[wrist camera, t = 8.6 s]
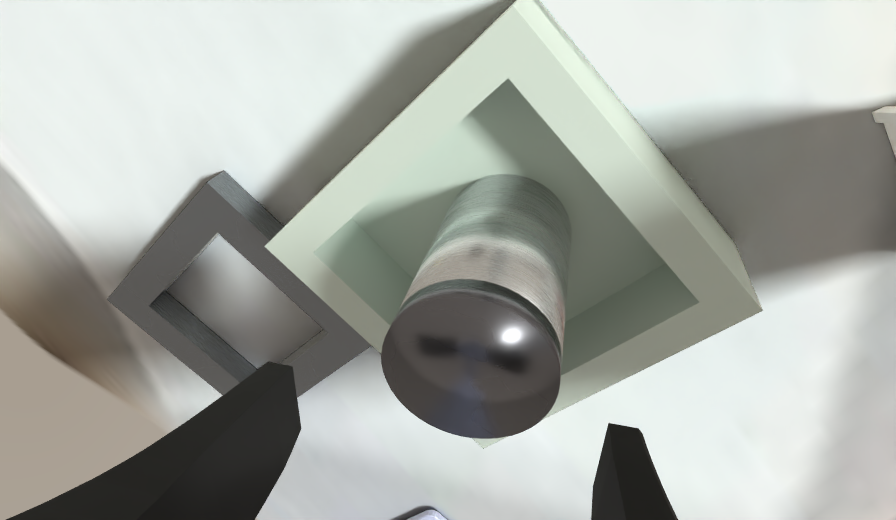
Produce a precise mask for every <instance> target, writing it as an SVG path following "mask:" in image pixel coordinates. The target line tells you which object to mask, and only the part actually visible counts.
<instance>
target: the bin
mask: <svg viewBox="0 0 896 520" xmlns="http://www.w3.org/2000/svg"><path fill="white" fill-rule="evenodd" d="M497 174H513V175H519V176H524V177H527V178H530V179H532V180H535V181H537V182H539V183H541V184H542V185H544V186H545V187H547V188H548V189H549V190H550V191H552V192H553V193H554V194H555V195H556V196H557V197H558V199H559V200H560V201H561V203H562V204H563V206H564V207H565V209H566V211H567V213H568V216H569V219H570V223H571V250H570V263H569V276H568V289H567V301H566V314H565V327H564V340H563V353H562V366H561V379H560V388H559V393H558V396H557V399H556V402H555V404H554V405H553V407H552V409H551V410H550V411H549V413H548V414H547V415H546V416H545V417H544V418H543V419H545V418H547V417H549V416H551V415H553V414H555V413H557V412H559V411H561V410H563V409H565V408H567V407H569V406H571V405H573V404H575V403H577V402H579V401H581V400H583V399H585V398H587V397H589V396H591V395H593V394H595V393H597V392H599V391H601V390H603V389H605V388H607V387H609V386H611V385H613V384H615V383H617V382H619V381H621V380H623V379H625V378H627V377H630V376H632V375H634V374H636V373H638V372H640V371H642V370H644V369H646V368H648V367H650V366H652V365H654V364H656V363H658V362H660V361H662V360H664V359H666V358H668V357H670V356H672V355H674V354H676V353H678V352H680V351H682V350H684V349H686V348H688V347H690V346H692V345H694V344H696V343H698V342H700V341H702V340H704V339H706V338H708V337H710V336H712V335H714V334H716V333H719V332H721V331H723V330H725V329H727V328H729V327H731V326H733V325H735V324H737V323H739V322H741V321H743V320H745V319H747V318H749V317H751V316H753V315H755V314H757V313H759V312H761V311H763V310H762V307H761V305H760V303H759V300H758V298H757V295H756V293H755V291H754V288H753V286H752V283H751V281H750V279H749V276H748V274H747V271H746V269H745V267H744V264H743V262H742V260H741V257H740V255H739V252H738V250H737V248H736V245H735V243H734V242H733V241H732V239H731V238H730V237H729V236H728V234H727V233H726V232H725V231H724V229H723V228H722V227H721V226H720V224H719V223H718V222H717V221H716V219H715V218H714V217H713V216H712V214H711V213H710V212H709V211H708V209H707V208H706V207H705V206H704V204H703V203H702V202H701V201H700V199H699V198H698V197H697V196H696V194H695V193H694V192H693V191H692V189H691V188H690V187H689V186H688V184H687V183H686V182H685V181H684V180H683V178H682V177H681V176H680V175H679V173H678V172H677V171H676V170H675V168H674V167H673V166H672V165H671V163H670V162H669V161H668V160H667V158H666V157H665V156H664V155H663V153H662V152H661V151H660V150H659V148H658V147H657V146H656V145H655V143H654V142H653V141H652V140H651V138H650V137H649V136H648V135H647V133H646V132H645V131H644V130H643V128H642V127H641V126H640V125H639V123H638V122H637V121H636V120H635V118H634V117H633V116H632V115H631V114H630V112H629V111H628V110H627V109H626V107H625V106H624V105H623V104H622V102H621V101H620V100H619V99H618V97H617V96H616V95H615V94H614V92H613V91H612V90H611V89H610V87H609V86H608V85H607V84H606V82H605V81H604V80H603V79H602V77H601V76H600V75H599V74H598V72H597V71H596V70H595V69H594V67H593V66H592V65H591V64H590V62H589V61H588V60H587V59H586V57H585V56H584V55H583V54H582V53H581V51H580V50H579V49H578V48H577V46H576V45H575V44H574V43H573V41H572V40H571V39H570V38H569V36H568V35H567V34H566V33H565V31H564V30H563V29H562V28H561V26H560V25H559V24H558V23H557V21H556V20H555V19H554V18H553V16H552V15H551V14H550V13H549V11H548V10H547V9H546V8H545V6H544V5H543V4H542V3H541V1H540V0H516V1H515V2H514V3H513V4H512V5H511V6H510V7H509V8H508V9H507V10H506V11H505V12H503V13H502V14H501V15H500V16H499V17H498V18H497V19H496V20H495V21H494V22H493V23H492V24H491V25H490V26H489V27H488V28H487V29H486V30H485V31H484V32H483V33H482V34H481V35H480V36H479V37H478V38H477V39H476V40H475V41H474V42H473V43H472V44H471V45H470V46H468V47H467V48H466V49H465V50H464V51H463V52H462V53H461V54H460V55H459V56H458V57H457V58H456V59H455V60H454V61H453V62H452V63H451V64H450V65H449V66H448V67H447V68H446V69H445V70H444V71H443V72H442V73H441V74H440V75H439V76H438V77H437V78H436V79H435V80H434V81H432V82H431V83H430V84H429V85H428V86H427V87H426V88H425V89H424V90H423V91H422V92H421V93H420V94H419V95H418V96H417V97H416V98H415V99H414V100H413V101H412V102H411V103H410V104H409V105H408V106H407V107H406V108H405V109H404V110H403V111H402V112H401V113H400V114H399V115H397V116H396V117H395V118H394V119H393V120H392V121H391V122H390V123H389V124H388V125H387V126H386V127H385V128H384V129H383V130H382V131H381V132H380V133H379V134H378V135H377V136H376V137H375V138H374V139H373V140H372V141H371V142H370V143H369V144H368V145H367V146H366V147H365V148H364V149H363V150H361V151H360V152H359V153H358V154H357V155H356V156H355V157H354V158H353V159H352V160H351V161H350V162H349V163H348V164H347V165H346V166H345V167H344V168H343V169H342V170H341V171H340V172H339V173H338V174H337V175H336V176H335V177H334V178H333V179H332V180H331V181H330V182H329V183H328V184H326V185H325V186H324V187H323V188H322V189H321V190H320V191H319V192H318V193H317V194H316V195H315V196H314V197H313V198H312V199H311V200H310V201H309V202H308V203H307V204H306V205H305V206H304V207H303V208H302V209H301V210H300V211H299V212H298V213H297V214H296V215H295V216H294V217H293V218H292V219H291V220H290V221H289V222H288V223H287V224H286V225H285V226H284V227H283V228H282V229H281V230H280V231H279V232H278V233H277V234H276V235H275V236H274V237H273V238H272V239H271V240H270V241H269V242H268V243H267V244H266V245H265V247H266V248H267V249H268V250H269V251H270V252H271V253H272V254H273V255H274V256H275V257H276V258H277V259H279V260H280V261H281V262H282V263H283V264H284V265H285V266H286V267H287V268H288V269H289V270H290V271H292V272H293V273H294V274H295V275H296V276H297V277H298V278H299V279H300V280H301V281H302V282H303V283H305V284H306V285H307V286H308V287H309V288H310V289H311V290H312V291H313V292H314V293H315V294H316V295H317V296H319V297H320V298H321V299H322V300H323V301H324V302H325V303H326V304H327V305H328V306H329V307H330V308H332V309H333V310H334V311H335V312H336V313H337V314H338V315H339V316H340V317H341V318H342V319H343V320H345V321H346V322H347V323H348V324H349V325H350V326H351V327H352V328H353V329H354V330H355V331H356V332H358V333H359V334H360V335H361V336H362V337H363V338H364V339H365V340H366V341H367V342H368V343H369V344H370V345H372V346H373V347H374V348H375V349H376V350H377V351H378V352H379V353H380V354H381V353H382V345H383V342H384V339H385V336H386V334H387V332H388V330H389V328H390V326H391V324H392V322H393V320H394V318H395V316H396V314H397V312H398V310H399V308H400V306H401V304H402V302H403V300H404V298H405V296H406V294H407V292H408V290H409V288H410V286H411V284H412V282H413V280H414V278H415V276H416V274H417V272H418V270H419V268H420V266H421V264H422V262H423V260H424V258H425V256H426V254H427V252H428V250H429V248H430V246H431V244H432V242H433V240H434V238H435V236H436V234H437V232H438V230H439V228H440V226H441V224H442V222H443V220H444V218H445V216H446V214H447V212H448V210H449V208H450V206H451V204H452V202H453V200H454V199H455V197H456V196H457V195H458V194H459V193H460V192H461V191H462V190H463V189H464V188H465V187H466V186H468V185H469V184H471V183H472V182H474V181H476V180H478V179H481V178H483V177H487V176H490V175H497ZM543 419H542V420H543ZM507 437H508V436H507ZM504 438H506V437H502V438H493V439H478V438H472V439H473V440H474V441H475V442H476V443H478V444H479V445H480V446H481V447H482V448H483V449H484V448H486V447H488V446H490V445H492V444H494V443H496V442H498V441H500V440H502V439H504Z"/></svg>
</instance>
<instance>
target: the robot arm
mask: <svg viewBox="0 0 896 520" xmlns="http://www.w3.org/2000/svg"><path fill="white" fill-rule="evenodd" d="M300 430H301V423H300V416H299V409H298V402H297V394H296V387H295V380H294V372H293V366H289V365H283V364H278V363H272V362H268V363H266V364H265V365H264V366H262V367H261V368H259V369H258V370H257V371H255V372H254V373H253V374H251V375H250V376H248V377H247V378H246V379H244V380H243V381H242V382H240V383H239V384H238V385H236V386H235V387H234V388H232V389H231V390H230V391H228V392H227V393H226V394H224V395H223V396H222V397H220V398H219V399H218V400H216V401H215V402H213V403H212V404H211V405H209V406H208V407H206V408H205V409H204V410H202V411H201V412H199V413H198V414H197V415H195V416H194V417H192V418H191V419H190V420H188V421H187V422H185V423H184V424H182V425H181V426H179V427H178V428H176V429H175V430H173V431H172V432H170V433H169V434H167V435H166V436H164V437H163V438H161V439H160V440H158V441H157V442H155V443H154V444H152V445H151V446H149V447H147V448H146V449H144V450H143V451H141V452H139V453H138V454H136V455H134V456H133V457H131V458H129V459H128V460H126V461H124V462H122V463H121V464H119V465H117V466H115V467H113V468H112V469H110V470H108V471H106V472H105V473H103V474H101V475H99V476H97V477H95V478H93V479H92V480H90V481H88V482H85V483H84V484H82V485H79V486H78V487H75V488H74V489H71V490H69V491H67V492H66V493H63V494H61V495H59V496H57V497H55V498H53V499H51V500H49V501H47V502H45V503H43V504H41V505H38V506H36V507H34V508H32V509H29V510H27V511H25V512H23V513H20V514H18V515H16V516H14V517H11V518H9V519H6V520H255V518H256V516H257V515H258V513H259V511H260V510H261V508H262V506H263V505H264V503H265V501H266V499H267V498H268V496H269V494H270V493H271V491H272V489H273V487H274V486H275V484H276V482H277V480H278V479H279V477H280V475H281V473H282V472H283V470H284V468H285V466H286V463H287V461H288V459H289V457H290V454H291V452H292V450H293V447H294V445H295V442H296V440H297V438H298V435H299V433H300ZM407 520H447V519H446V518H444V517H443V516H442V515H441V514H440V513H439V512H437V511H435V510H426V511H424V512H422V513H420V514H418V515H415V516H413V517H411V518H409V519H407ZM591 520H678V519H677V517H676V515H675V512H674V510H673V508H672V506H671V504H670V502H669V500H668V498H667V495H666V493H665V491H664V489H663V486H662V484H661V482H660V479H659V477H658V474H657V472H656V470H655V467H654V465H653V462H652V460H651V457H650V454H649V451H648V449H647V446H646V443H645V440H644V437H643V434H642V432H641V431H640V430H639V429H638V428H633V427H627V426H622V425H616V424H611V423H609V424H608V428H607V432H606V436H605V440H604V444H603V448H602V452H601V456H600V460H599V464H598V468H597V473H596V477H595V481H594V485H593V497H592V517H591Z"/></svg>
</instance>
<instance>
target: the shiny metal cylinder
mask: <svg viewBox="0 0 896 520" xmlns="http://www.w3.org/2000/svg"><path fill="white" fill-rule="evenodd" d="M570 250H571V223H570V219H569V216H568V213H567V211H566V209H565V207H564V206H563V204H562V203H561V201H560V200H559V199H558V197H557V196H556V195H555V194H554V193H553V192H552V191H550V190H549V189H548V188H547V187H545V186H544V185H542V184H541V183H539V182H537V181H535V180H532V179H530V178H527V177H524V176H519V175H513V174H497V175H490V176H487V177H483V178H481V179H478V180H476V181H474V182H472V183H471V184H469V185H468V186H466V187H465V188H464V189H463V190H462V191H461V192H460V193H459V194H458V195H457V196H456V197H455V199H454V200H453V202H452V204H451V206H450V208H449V210H448V212H447V214H446V216H445V218H444V220H443V222H442V224H441V226H440V228H439V230H438V232H437V234H436V236H435V238H434V240H433V242H432V244H431V246H430V248H429V250H428V252H427V254H426V256H425V258H424V260H423V262H422V264H421V266H420V268H419V270H418V272H417V274H416V276H415V278H414V280H413V282H412V284H411V286H410V288H409V290H408V292H407V294H406V296H405V298H404V300H403V302H402V304H401V306H400V308H399V310H398V312H397V314H396V316H395V318H394V320H393V322H392V324H391V326H390V328H389V330H388V332H387V334H386V336H385V339H384V342H383V345H382V353H381V360H382V367H383V372H384V375H385V378H386V381H387V383H388V385H389V386H390V388H391V390H392V392H393V393H394V394H395V396H396V397H397V398H398V400H399V401H400V402H401V403H402V404H403V405H404V406H405V407H406V408H407V409H408V410H409V411H410V412H411V413H413V414H414V415H415V416H417V417H418V418H419V419H421V420H423V421H424V422H426V423H428V424H429V425H432V426H434V427H436V428H438V429H440V430H443V431H445V432H448V433H451V434H455V435H458V436H463V437H469V438H478V439H493V438H502V437H507V436H512V435H515V434H518V433H521V432H523V431H525V430H527V429H529V428H531V427H533V426H534V425H536V424H537V423H539V422H540V421H541V420H542V419H543V418H544V417H545V416H546V415H547V414H548V413H549V411H550V410H551V409H552V407H553V405H554V404H555V402H556V399H557V396H558V393H559V388H560V379H561V366H562V353H563V340H564V327H565V314H566V301H567V289H568V276H569V263H570Z"/></svg>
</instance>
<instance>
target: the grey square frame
mask: <svg viewBox="0 0 896 520" xmlns="http://www.w3.org/2000/svg"><path fill="white" fill-rule="evenodd" d="M282 228H283V226H282V225H281V224H280V223H279V222H278V221H277V220H276V219H275V218H274V217H273V216H272V215H271V214H270V213H269V212H268V211H266V210H265V209H264V208H263V207H262V206H261V205H260V204H259V203H258V202H257V201H256V200H255V199H254V198H253V197H252V196H251V195H250V194H248V193H247V192H246V191H245V190H244V189H243V188H242V187H241V186H240V185H239V184H238V183H237V182H236V181H235V180H234V179H233V178H232V177H230V176H229V175H228V174H227V173H226V172H225V171H222V172H221V173H220V174H218V175H217V176H215V177H214V178H212V179H211V180H209V181H208V182H207V183H206V184H205V185H204V186H203V187H202V189H201V190H200V191H199V192H198V193H197V194H196V196H195V197H194V198H193V199H192V200H191V201H190V203H189V204H188V205H187V206H186V207H185V208H184V210H183V211H182V212H181V213H180V214H179V215H178V217H177V218H176V219H175V220H174V221H173V222H172V224H171V225H170V226H169V227H168V228H167V229H166V231H165V232H164V233H163V234H162V235H161V237H160V238H159V239H158V240H157V241H156V242H155V244H154V245H153V246H152V247H151V248H150V249H149V251H148V252H147V253H146V254H145V255H144V256H143V258H142V259H141V260H140V261H139V262H138V263H137V265H136V266H135V267H134V268H133V269H132V270H131V272H130V273H129V274H128V275H127V276H126V277H125V279H124V280H123V281H122V282H121V283H120V285H119V286H118V287H117V288H116V289H115V290H114V292H113V293H112V294H111V295H110V296H109V297H108V299H107V300H108V301H109V302H110V303H112V304H113V305H114V306H115V307H116V308H118V309H119V310H120V311H121V312H122V313H124V314H125V315H126V316H127V317H129V318H130V319H131V320H132V321H133V322H135V323H136V324H137V325H138V326H139V327H141V328H142V329H143V330H144V331H146V332H147V333H148V334H149V335H150V336H152V337H153V338H154V339H155V340H156V341H158V342H159V343H160V344H161V345H162V346H164V347H165V348H166V349H167V350H169V351H170V352H171V353H172V354H173V355H175V356H176V357H177V358H178V359H179V360H181V361H182V362H183V363H184V364H186V365H187V366H188V367H189V368H190V369H192V370H193V371H194V372H195V373H196V374H198V375H199V376H200V377H201V378H202V379H204V380H205V381H206V382H207V383H209V384H210V385H211V386H212V387H213V388H215V389H216V390H217V391H218V392H219V393H221V394H222V395H224V394H226V393H227V392H228V391H230V390H231V389H232V388H234V387H235V386H236V385H238V384H239V383H240V382H242V381H243V380H244V379H246V378H247V377H248V376H250V375H251V374H253V373H254V372H255V371H257V369H256V368H255V367H254V366H252V365H251V364H250V363H249V362H248V361H247V360H245V359H244V358H243V357H242V356H241V355H240V354H238V353H237V352H236V351H235V350H234V349H233V348H231V347H230V346H229V345H228V344H227V343H226V342H224V341H223V340H222V339H221V338H220V337H218V336H217V335H216V334H215V333H214V332H213V331H211V330H210V329H209V328H208V327H207V326H206V325H204V324H203V323H202V322H201V321H200V320H199V319H197V318H196V317H195V316H194V315H193V314H192V313H190V312H189V311H188V310H187V309H186V308H185V307H183V306H182V305H181V304H180V303H179V302H178V301H176V300H175V299H174V298H173V297H172V296H170V295H169V294H168V293H167V292H166V290H167V289H168V288H169V287H170V286H171V285H172V284H173V283H174V282H175V280H176V279H177V278H178V277H179V276H180V275H181V274H182V273H183V272H184V271H185V270H186V269H187V268H188V267H189V266H190V265H191V263H192V262H193V261H194V260H195V259H196V258H197V257H198V256H199V255H200V254H201V253H202V252H203V251H204V250H205V249H206V248H207V246H208V245H209V244H210V243H211V242H212V241H213V240H214V239H215V238H216V237H217V236H218V235H219V234H220V235H221V236H222V237H223V238H224V239H225V240H226V241H228V242H229V243H230V244H231V245H232V246H233V247H234V248H235V249H236V250H237V251H239V252H240V253H241V254H242V255H243V256H244V257H245V258H246V259H247V260H248V261H250V262H251V263H252V264H253V265H254V266H255V267H256V268H257V269H258V270H259V271H261V272H262V273H263V274H264V275H265V276H266V277H267V278H268V279H269V280H270V281H272V282H273V283H274V284H275V285H276V286H277V287H278V288H279V289H280V290H281V291H283V292H284V293H285V294H286V295H287V296H288V297H289V298H290V299H291V300H292V301H294V302H295V303H296V304H297V305H298V306H299V307H300V308H301V309H302V310H303V311H305V312H306V313H307V314H308V315H309V316H310V317H311V318H312V319H313V320H314V321H316V322H317V323H318V324H319V325H320V326H321V327H322V328H323V330H322V331H321V332H320V333H318V334H317V335H316V336H314V337H313V338H312V339H310V340H309V341H308V342H307V343H305V344H304V345H303V346H301V347H300V348H299V349H298V350H296V351H295V352H294V353H292V354H291V355H290V356H288V357H287V358H286V359H285V360H283V361H282V362H281V363H279V364H283V365H289V366H293V372H294V380H295V387H296V394H297V397H299V396H300V395H302V394H303V393H305V392H306V391H307V390H309V389H310V388H312V387H313V386H315V385H316V384H317V383H319V382H320V381H322V380H323V379H325V378H326V377H327V376H329V375H330V374H332V373H333V372H334V371H336V370H337V369H339V368H340V367H342V366H343V365H344V364H346V363H347V362H349V361H350V360H352V359H353V358H354V357H356V356H357V355H359V354H360V353H362V352H363V351H364V350H366V349H367V348H369V347H370V346H371V345H370V344H369V343H368V342H367V341H366V340H365V339H364V338H363V337H362V336H361V335H360V334H359V333H358V332H356V331H355V330H354V329H353V328H352V327H351V326H350V325H349V324H348V323H347V322H346V321H345V320H343V319H342V318H341V317H340V316H339V315H338V314H337V313H336V312H335V311H334V310H333V309H332V308H330V307H329V306H328V305H327V304H326V303H325V302H324V301H323V300H322V299H321V298H320V297H319V296H317V295H316V294H315V293H314V292H313V291H312V290H311V289H310V288H309V287H308V286H307V285H306V284H305V283H303V282H302V281H301V280H300V279H299V278H298V277H297V276H296V275H295V274H294V273H293V272H292V271H290V270H289V269H288V268H287V267H286V266H285V265H284V264H283V263H282V262H281V261H280V260H279V259H277V258H276V257H275V256H274V255H273V254H272V253H271V252H270V251H269V250H268V249H267V248H266V247H265V245H266V244H267V243H268V242H269V241H270V240H271V239H272V238H273V237H274V236H275V235H276V234H277V233H278V232H279V231H280V230H281V229H282Z"/></svg>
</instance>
